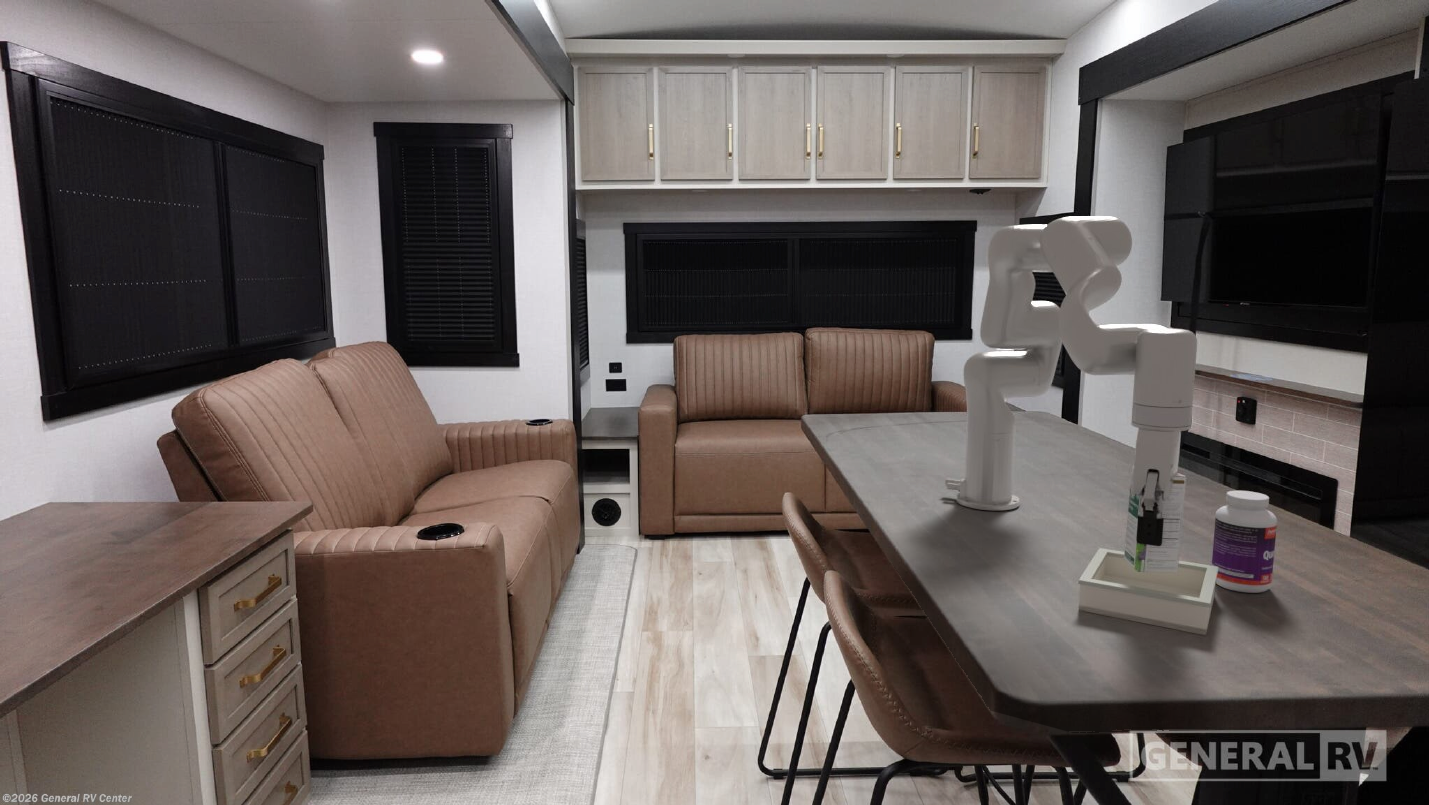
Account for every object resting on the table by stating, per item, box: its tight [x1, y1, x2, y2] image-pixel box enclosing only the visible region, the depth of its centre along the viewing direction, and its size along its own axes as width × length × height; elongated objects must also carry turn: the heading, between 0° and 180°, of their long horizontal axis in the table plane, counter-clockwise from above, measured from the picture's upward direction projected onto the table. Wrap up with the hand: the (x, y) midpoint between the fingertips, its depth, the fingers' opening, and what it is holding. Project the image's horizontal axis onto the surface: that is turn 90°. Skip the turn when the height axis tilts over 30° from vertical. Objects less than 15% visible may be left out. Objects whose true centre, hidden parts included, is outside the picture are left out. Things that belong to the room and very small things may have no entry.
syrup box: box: [1124, 465, 1187, 573], centre depth 124 cm, size 6×6×14 cm
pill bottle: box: [1210, 490, 1278, 594], centre depth 131 cm, size 8×8×14 cm
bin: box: [1078, 547, 1218, 636], centre depth 126 cm, size 16×16×5 cm
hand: (1152, 535), depth 124 cm, fingers closed on syrup box, 7 cm apart
